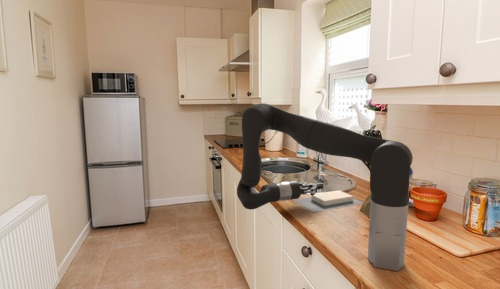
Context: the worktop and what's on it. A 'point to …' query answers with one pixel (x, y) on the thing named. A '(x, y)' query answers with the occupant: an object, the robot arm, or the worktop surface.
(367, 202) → the rock
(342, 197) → the tile
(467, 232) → the worktop surface
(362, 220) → the worktop surface
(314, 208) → the board
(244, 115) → the robot arm
